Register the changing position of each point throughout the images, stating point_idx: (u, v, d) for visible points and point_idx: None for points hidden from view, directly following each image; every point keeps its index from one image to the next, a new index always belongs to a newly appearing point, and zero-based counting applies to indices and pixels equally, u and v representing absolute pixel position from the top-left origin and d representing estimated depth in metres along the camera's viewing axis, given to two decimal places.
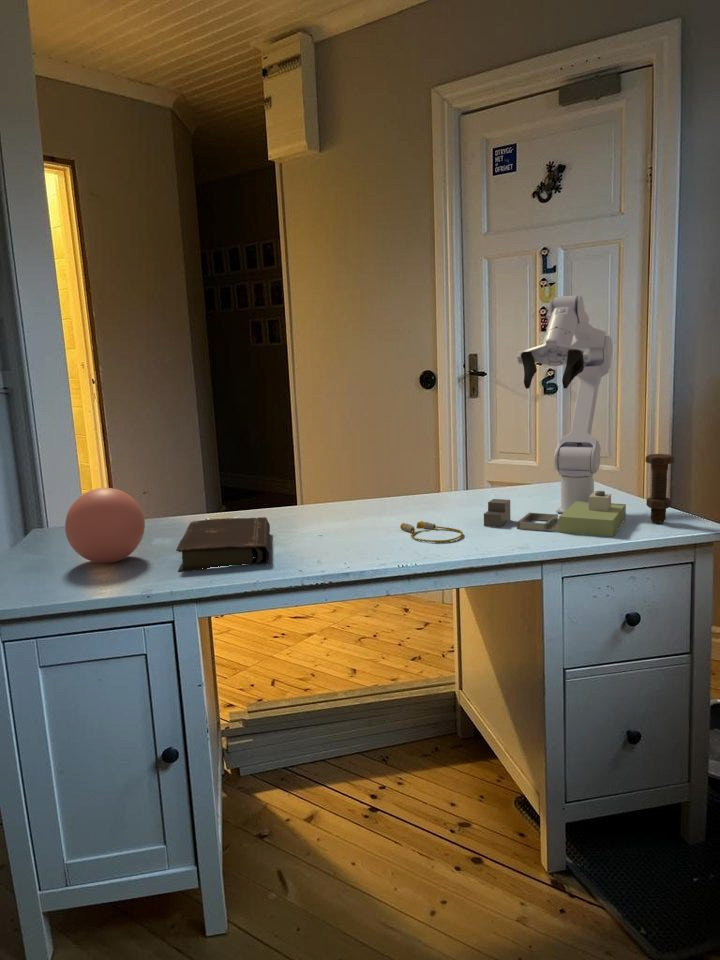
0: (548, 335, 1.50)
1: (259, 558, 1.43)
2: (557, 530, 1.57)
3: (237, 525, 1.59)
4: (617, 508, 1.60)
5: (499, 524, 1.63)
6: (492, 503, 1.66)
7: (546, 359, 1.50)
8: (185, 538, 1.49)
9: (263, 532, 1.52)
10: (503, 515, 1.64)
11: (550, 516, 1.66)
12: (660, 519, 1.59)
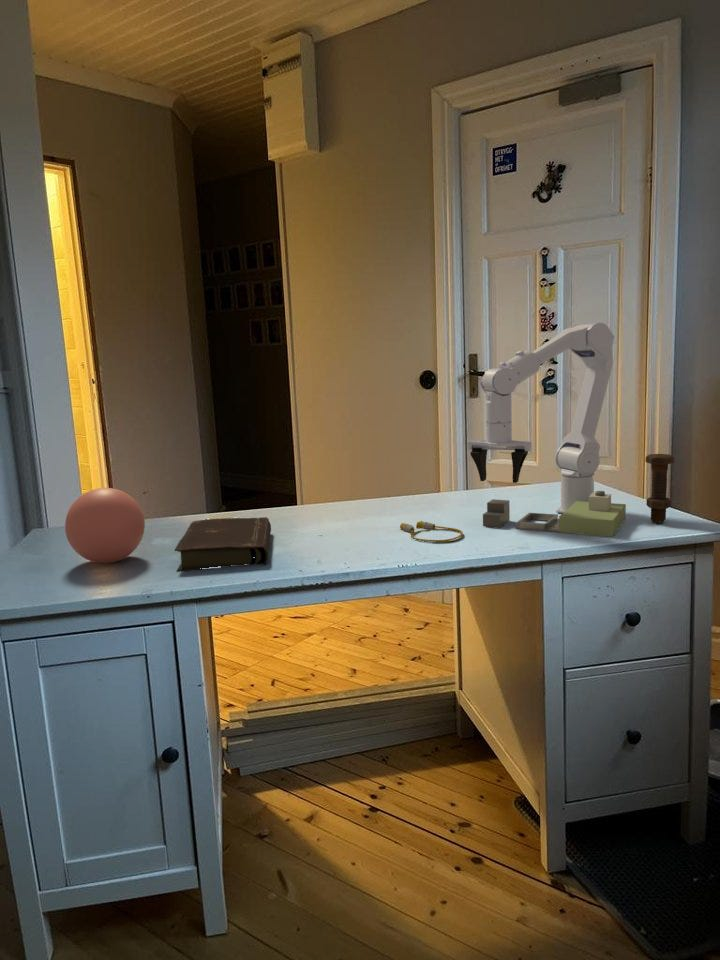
0: (489, 431, 1.63)
1: (258, 559, 1.43)
2: (557, 530, 1.57)
3: (238, 525, 1.59)
4: (617, 508, 1.60)
5: (498, 525, 1.62)
6: (491, 504, 1.65)
7: (493, 449, 1.66)
8: (185, 538, 1.49)
9: (263, 532, 1.52)
10: (502, 516, 1.63)
11: (550, 516, 1.66)
12: (660, 519, 1.59)
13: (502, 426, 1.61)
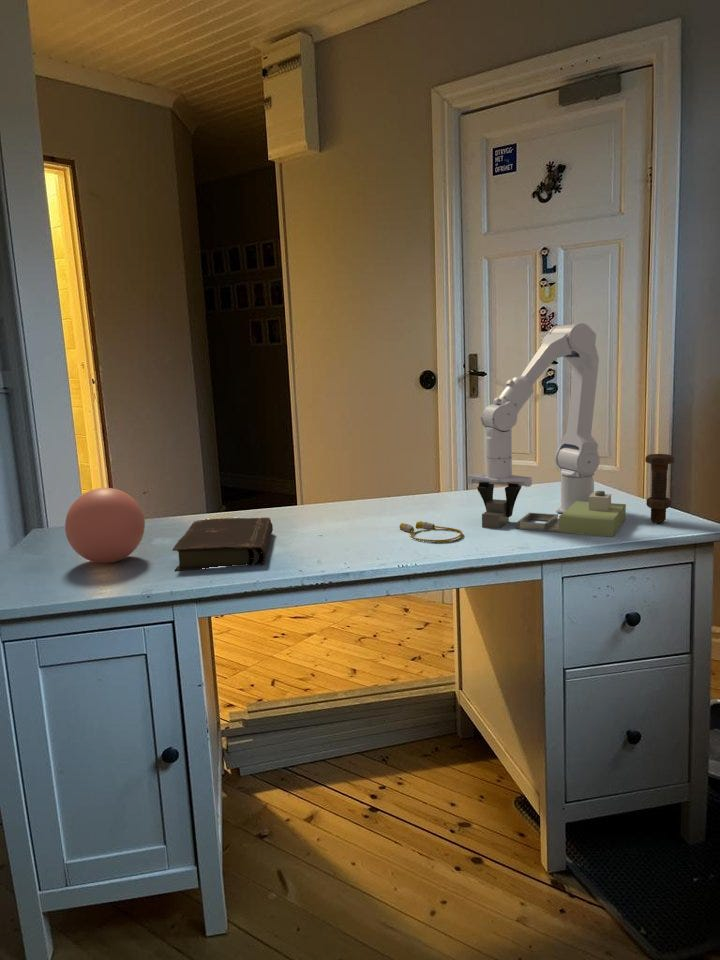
0: (489, 466, 1.64)
1: (255, 559, 1.43)
2: (557, 530, 1.57)
3: (238, 525, 1.59)
4: (617, 508, 1.60)
5: (497, 525, 1.62)
6: (490, 503, 1.65)
7: None
8: (184, 537, 1.49)
9: (262, 533, 1.52)
10: (501, 516, 1.63)
11: (550, 516, 1.66)
12: (660, 519, 1.59)
13: (502, 462, 1.63)
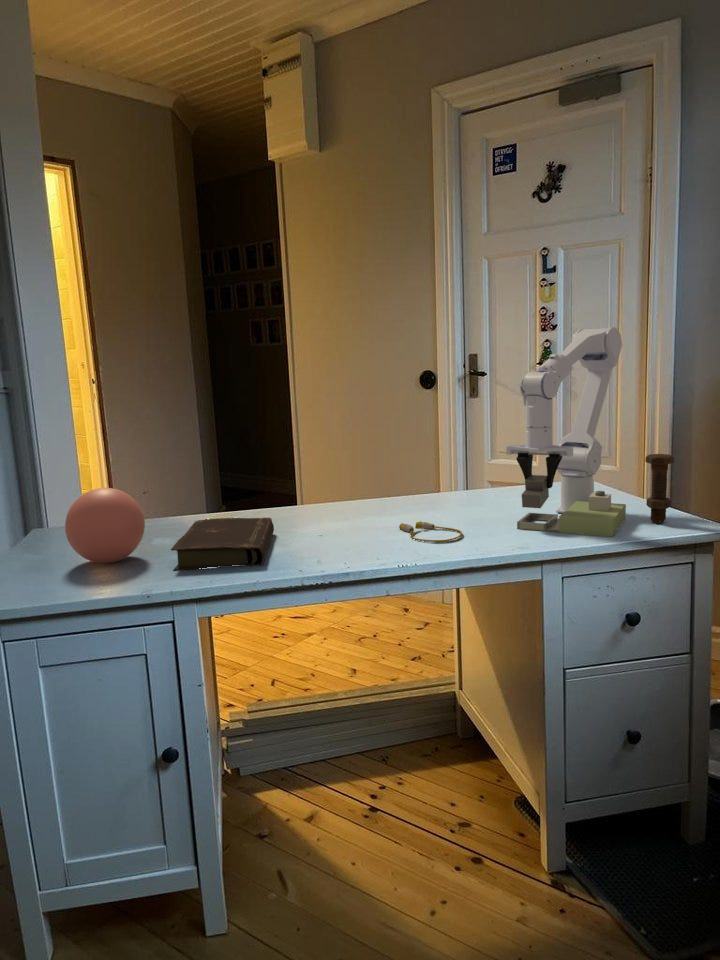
0: (530, 436, 1.60)
1: (254, 559, 1.43)
2: (557, 530, 1.57)
3: (239, 525, 1.59)
4: (617, 508, 1.60)
5: (538, 504, 1.57)
6: (529, 482, 1.60)
7: (533, 454, 1.62)
8: (184, 537, 1.50)
9: (262, 533, 1.52)
10: (541, 495, 1.58)
11: (550, 516, 1.66)
12: (660, 519, 1.59)
13: (543, 431, 1.58)
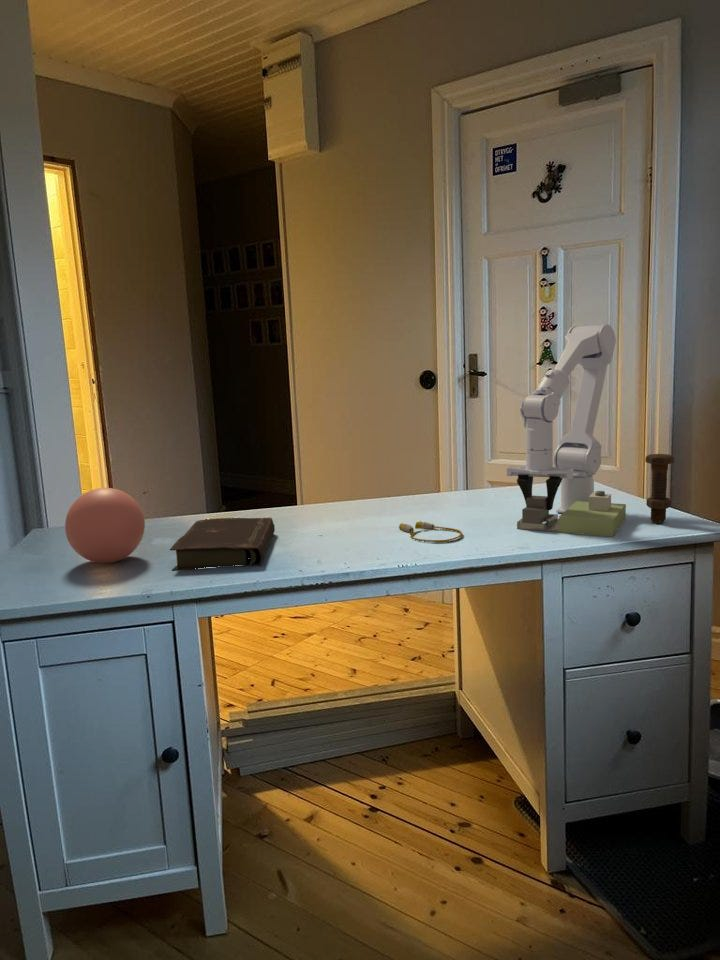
0: (530, 458, 1.60)
1: (252, 560, 1.42)
2: (557, 530, 1.57)
3: (239, 525, 1.59)
4: (617, 508, 1.60)
5: (538, 520, 1.58)
6: (531, 499, 1.61)
7: (534, 476, 1.63)
8: (184, 537, 1.50)
9: (262, 533, 1.52)
10: (542, 511, 1.59)
11: (550, 516, 1.66)
12: (660, 519, 1.59)
13: (543, 453, 1.59)
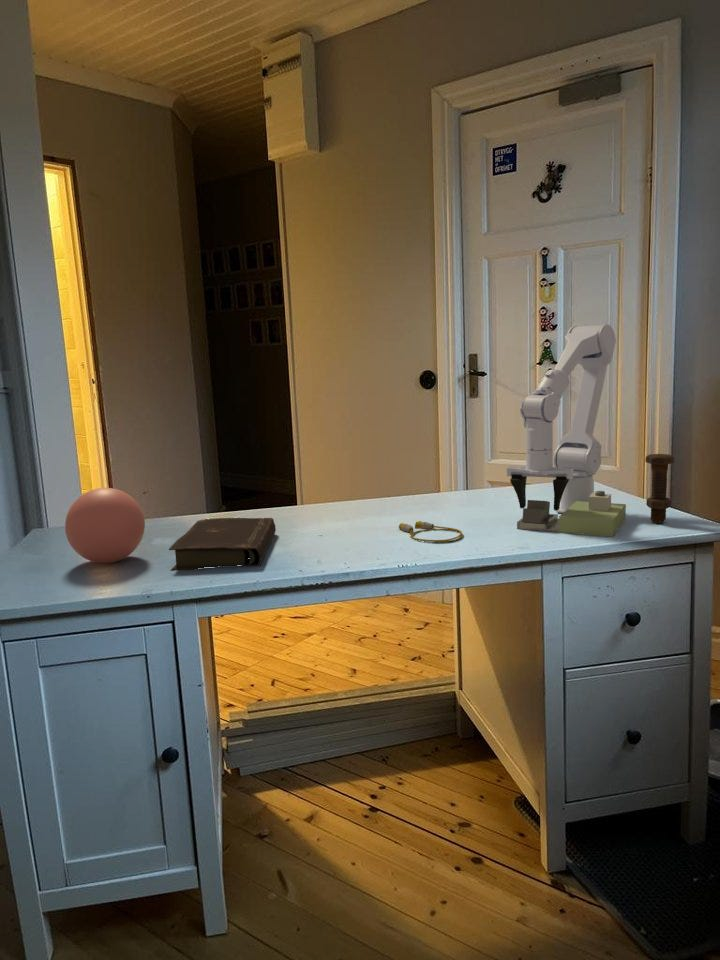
0: (530, 458, 1.60)
1: (251, 560, 1.42)
2: (557, 530, 1.57)
3: (240, 525, 1.59)
4: (617, 508, 1.60)
5: (539, 519, 1.58)
6: (532, 501, 1.62)
7: (534, 476, 1.63)
8: (184, 537, 1.50)
9: (261, 533, 1.51)
10: (543, 512, 1.59)
11: (550, 516, 1.66)
12: (660, 519, 1.59)
13: (543, 453, 1.59)
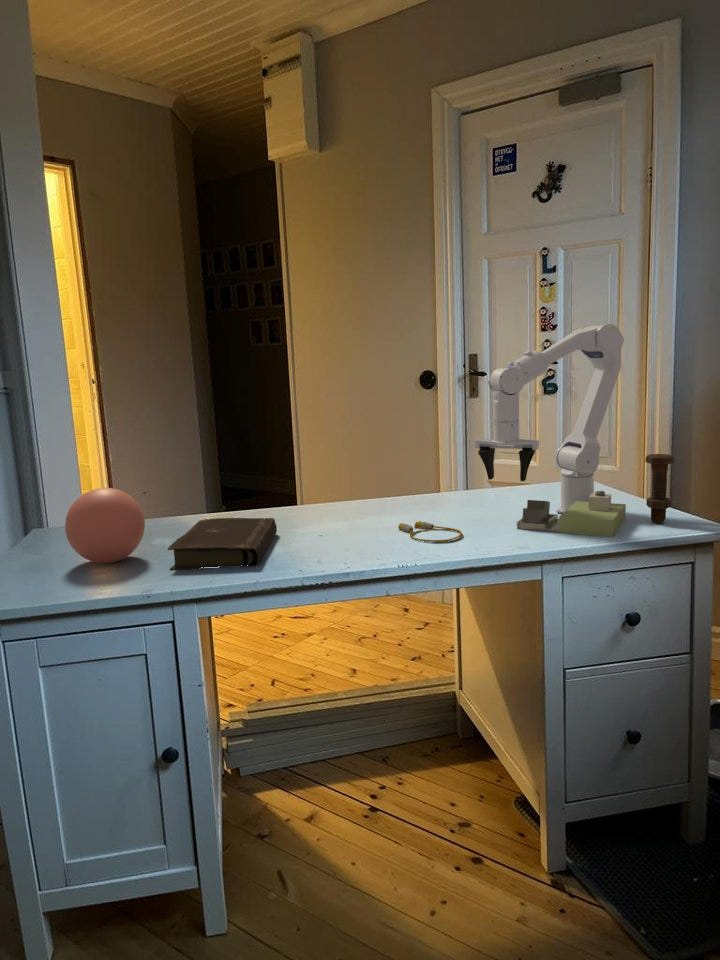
0: (497, 430, 1.64)
1: (249, 560, 1.42)
2: (557, 530, 1.57)
3: (241, 525, 1.59)
4: (617, 508, 1.60)
5: (539, 519, 1.58)
6: (532, 501, 1.62)
7: None
8: (183, 537, 1.50)
9: (261, 533, 1.51)
10: (542, 512, 1.59)
11: (550, 516, 1.66)
12: (660, 519, 1.59)
13: (510, 425, 1.63)
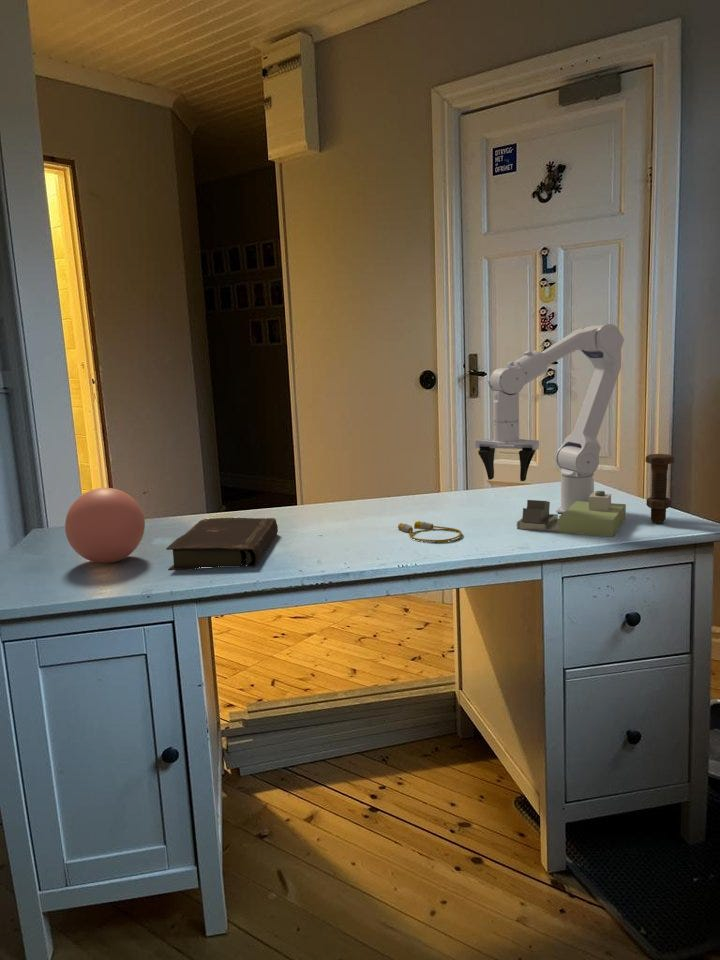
0: (497, 430, 1.64)
1: (248, 561, 1.42)
2: (557, 530, 1.57)
3: (241, 525, 1.59)
4: (617, 508, 1.60)
5: (538, 519, 1.58)
6: (532, 501, 1.62)
7: None
8: (183, 536, 1.50)
9: (261, 534, 1.51)
10: (542, 512, 1.59)
11: (550, 516, 1.66)
12: (660, 519, 1.59)
13: (510, 425, 1.63)
